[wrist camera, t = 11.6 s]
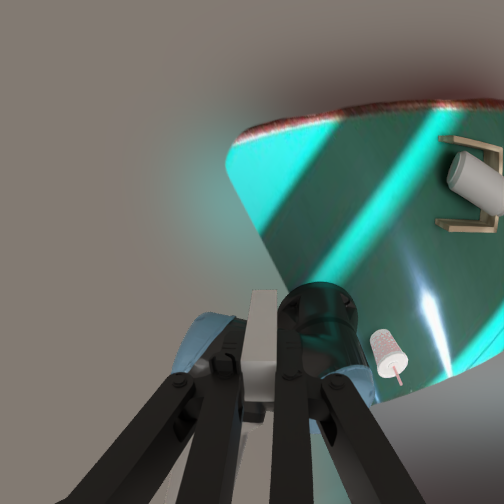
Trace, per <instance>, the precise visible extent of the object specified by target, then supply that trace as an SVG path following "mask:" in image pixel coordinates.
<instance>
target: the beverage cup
mask: <svg viewBox="0 0 504 504" xmlns="http://www.w3.org/2000/svg"><path fill="white" fill-rule="evenodd" d="M370 343H371V347H372V350H373V353H374V356H375V360H376V363H377V370H378V373H379V375H380V376H382V377H383V378H390V377H394V376H396V377H397V379H398V381H399V384H400V386H402V385H403V384H402V381H401V379H400V377H399V375H398V374H400V373H401V372H402V371H403V370H404V369H405V367H406V366H407V364H408V358H407V356H406V355H405V353H403V352H402V350H401V349H400V347H399V346H398V344H397V343H396V341H395V340H394V338H393V337H392V335H391V334H390V332H389V331H388V330H386V329H380V330H378V331H376V332H374V333H373V334H372V336H371V338H370Z"/></svg>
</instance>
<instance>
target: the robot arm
mask: <svg viewBox="0 0 504 504" xmlns="http://www.w3.org/2000/svg"><path fill="white" fill-rule="evenodd" d="M357 324H358V313H357V308H356V306H355V304H354V301H353V299H352V298H351V296H350V295H349V294H348V293H347V292H346V291H345V290H344V289H343V288H341V287H339V286H337V285H335V284H331V283H326V282H314V283H309V284H306V285H303V286H300V287H298V288H296V289H295V290H293V291H292V292H291V293H289V294H288V295H287V296H286V297H285V299H284V300H283V301H282V302H281V304H280V306H279V308H278V311H277V290H252V296H251V302H250V308H249V314H248V320H243V319H239V318H236V316H227V315H222V314H217V313H213V312H207V313H203V314H201V315H199V316H198V317H197V318H196V319H195V320H194V322H193V323H192V325H191V326H190V328H189V330H188V331H187V333H186V335H185V337H184V339H183V341H182V343H181V346H180V348H179V350H178V352H177V355H176V358H175V361H174V363H173V366H172V372H171V375H170V376H168V377H167V378H166V379H165V381H164V382H163V383H162V384H161V386H160V387H159V388H158V389H157V391H156V392H155V393H154V394H153V395H152V397H151V398H150V399H149V400H148V401H147V403H146V404H145V405H144V407H143V408H142V409H141V410H140V411H139V412H138V414H137V415H136V416H135V417H134V419H133V420H132V421H131V422H130V423H129V425H128V426H127V427H126V428H125V429H124V431H123V432H122V433H121V434H120V435H119V437H118V438H117V439H116V440H115V441H114V443H113V444H112V445H111V446H110V447H109V449H108V450H107V451H106V452H105V453H104V455H103V456H102V457H101V458H100V460H98V462H97V463H96V464H95V465H94V466H93V468H92V469H91V470H90V471H89V472H88V473H87V475H86V476H85V477H84V478H83V479H82V481H81V482H80V483H79V484H78V485H77V487H76V488H75V489H74V490H73V491H72V492H71V494H70V495H69V496H68V497H67V498H65V499H63V500H61V501H59V502H57V503H55V504H149V502H150V501H151V499H152V498H153V496H154V495H155V493H156V492H157V490H158V489H159V487H160V486H161V484H162V483H163V481H164V480H165V478H166V477H167V475H168V474H169V472H170V470H171V469H172V471H171V476H170V480H169V484H168V488H167V493H166V498H165V502H164V504H231V501H232V494H233V489H234V486H235V482H236V479H237V475H238V471H239V468H240V464H241V460H242V456H243V452H244V449H245V445H246V441H247V437H248V434H249V432H250V431H252V430H254V429H255V428H257V427H259V426H261V425H262V424H263V421H264V417H265V413H266V411H272V412H274V423H273V445H272V465H271V484H270V499H269V504H314V501H313V477H312V476H313V475H312V457H311V441H310V434H322V437H323V439H324V441H325V444H326V446H327V448H328V451H329V453H330V455H331V458H332V460H333V462H334V465H335V467H336V469H337V471H338V474H339V476H340V478H341V480H342V483H343V485H344V488H345V490H346V492H347V494H348V497H349V499H350V501H351V503H352V504H426V503H425V501H424V500H423V498H422V496H421V494H420V493H419V491H418V489H417V488H416V486H415V484H414V482H413V481H412V479H411V477H410V476H409V474H408V472H407V471H406V469H405V468H404V466H403V464H402V463H401V461H400V459H399V457H398V456H397V454H396V452H395V451H394V449H393V447H392V446H391V444H390V443H389V441H388V439H387V438H386V436H385V435H384V433H383V431H382V429H381V428H380V426H379V425H378V423H377V421H376V420H375V418H374V417H373V415H372V413H371V412H370V410H369V408H370V406H371V404H372V402H373V400H374V396H375V388H374V383H373V379H372V372H371V370H370V368H369V365H368V362H367V360H366V357H365V355H364V352H363V350H362V347H361V345H360V342H359V340H358V337H357V335H356V332H357Z"/></svg>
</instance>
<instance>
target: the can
mask: <svg viewBox="0 0 504 504" xmlns="http://www.w3.org/2000/svg"><path fill="white" fill-rule="evenodd" d="M447 183H448V185H449V189H450V190H452V191H454V192H455V193H457V194H459V195H460V196H462V197H463V198H465V199H467V200H468V201H470V202H471V203H473V204H474V205H476V206H477V207H479V208H480V209H482V210H483V211H485V212H486V213H488V214H489V215H491V216H494V215H497V216H498V217H500V216H502V215H503V214H504V176H502V175H501V174H500V173H498V172H497V171H495V170H494V169H493V168H491V167H490V166H488V165H487V164H485V163H484V162H482V161H481V160H479V159H478V158H476V157H475V156H473V155H471V154H470V153H468V152H467V151H462V152H458V153H457V154H456V156H455V158H454V160H453V162H452V164H451V166H450V169H449V172H448V176H447Z"/></svg>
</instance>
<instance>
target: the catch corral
mask: <svg viewBox="0 0 504 504" xmlns="http://www.w3.org/2000/svg"><path fill="white" fill-rule="evenodd" d="M438 138H439V142H445V143H451V144H456V145H461V146H466V147H471V148H475V149H480V150H484V163H485V164H487V165H488V166H490V167H491V168H493V169H494V170H495V171H497V172H498V173H500V174H501V175H502V163H503V148H502V147H498V146H495V145H491V144H487V143H484V142H480V141H475V140H471V139H467V138H462V137H458V136H438ZM498 218H499V217H498V216H497V215H494V216H491V215H489V214H488V213H486V212H485V211H483V210H482V209H481V212H480V220H461V219H435V224H436V225H438V226H440V227H441V228H443V229H445V230H447V231H449V232H495V233H496V232H497V226H498Z"/></svg>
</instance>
